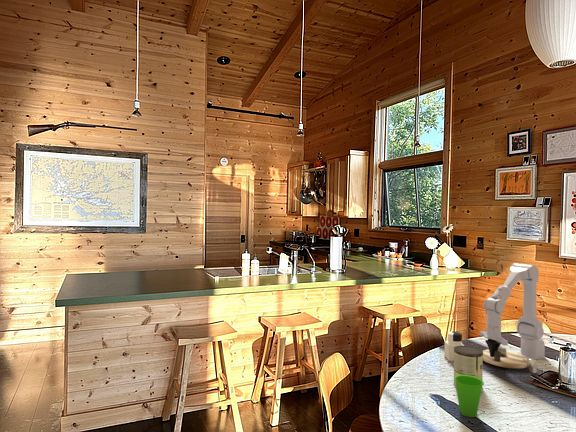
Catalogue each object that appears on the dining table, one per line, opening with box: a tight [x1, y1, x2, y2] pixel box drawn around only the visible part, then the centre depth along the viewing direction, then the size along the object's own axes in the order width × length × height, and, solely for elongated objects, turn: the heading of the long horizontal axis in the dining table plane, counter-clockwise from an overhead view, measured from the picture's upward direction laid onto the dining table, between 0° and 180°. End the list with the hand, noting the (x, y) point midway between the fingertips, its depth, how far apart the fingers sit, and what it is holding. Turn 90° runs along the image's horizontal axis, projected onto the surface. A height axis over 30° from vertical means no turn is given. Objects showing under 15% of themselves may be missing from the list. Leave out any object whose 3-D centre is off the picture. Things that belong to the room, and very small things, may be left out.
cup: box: [453, 375, 485, 418], centre depth 135 cm, size 9×9×11 cm
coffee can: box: [453, 345, 484, 390], centre depth 157 cm, size 10×10×14 cm
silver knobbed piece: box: [522, 359, 538, 374], centre depth 174 cm, size 3×7×6 cm, turn 13°
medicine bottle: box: [443, 331, 465, 362], centre depth 187 cm, size 7×7×12 cm
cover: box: [489, 345, 507, 356], centre depth 187 cm, size 7×7×3 cm
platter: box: [482, 349, 529, 369], centre depth 183 cm, size 20×20×6 cm
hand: (493, 356), depth 179 cm, fingers closed
